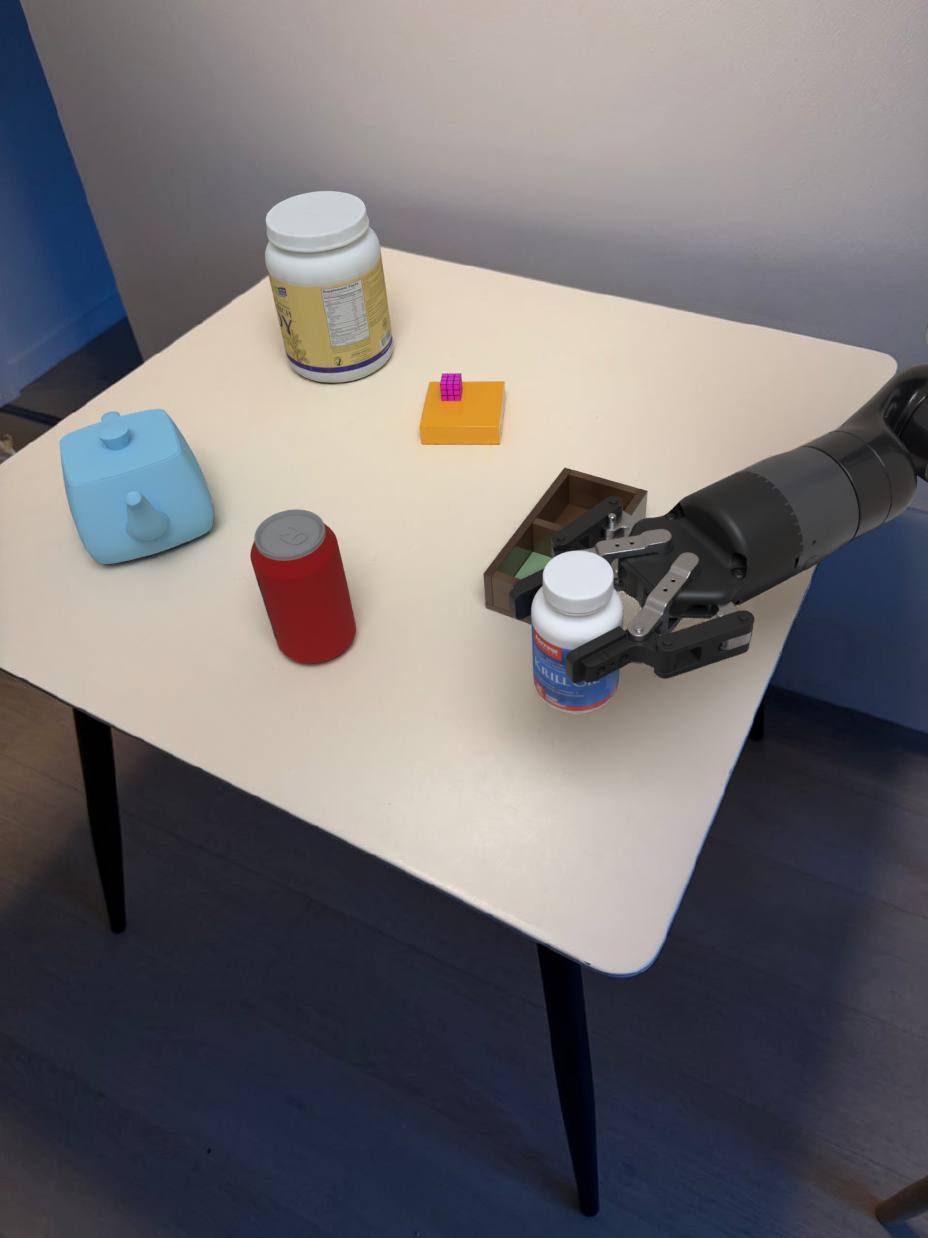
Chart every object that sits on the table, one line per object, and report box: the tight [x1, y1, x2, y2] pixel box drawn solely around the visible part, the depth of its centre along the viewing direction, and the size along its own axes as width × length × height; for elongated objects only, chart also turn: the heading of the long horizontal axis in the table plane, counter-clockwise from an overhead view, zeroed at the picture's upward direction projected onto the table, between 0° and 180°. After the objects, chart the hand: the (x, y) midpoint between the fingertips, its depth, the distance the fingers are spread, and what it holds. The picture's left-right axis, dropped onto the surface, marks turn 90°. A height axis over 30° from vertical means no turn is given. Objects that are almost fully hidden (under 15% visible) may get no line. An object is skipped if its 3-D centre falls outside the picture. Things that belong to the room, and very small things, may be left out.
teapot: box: [59, 408, 215, 565], centre depth 90 cm, size 12×18×12 cm
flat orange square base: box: [419, 372, 507, 445], centre depth 101 cm, size 8×8×4 cm
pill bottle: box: [530, 551, 624, 715], centre depth 59 cm, size 6×5×10 cm
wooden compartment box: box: [482, 467, 649, 625], centre depth 85 cm, size 8×15×4 cm, turn 150°
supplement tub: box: [264, 190, 394, 384], centre depth 107 cm, size 12×12×17 cm
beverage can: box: [249, 508, 357, 664], centre depth 79 cm, size 7×7×12 cm
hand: (541, 636), depth 58 cm, fingers closed on pill bottle, 5 cm apart
